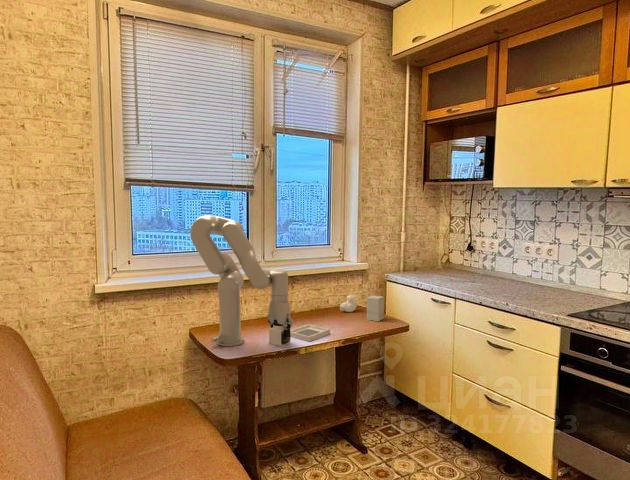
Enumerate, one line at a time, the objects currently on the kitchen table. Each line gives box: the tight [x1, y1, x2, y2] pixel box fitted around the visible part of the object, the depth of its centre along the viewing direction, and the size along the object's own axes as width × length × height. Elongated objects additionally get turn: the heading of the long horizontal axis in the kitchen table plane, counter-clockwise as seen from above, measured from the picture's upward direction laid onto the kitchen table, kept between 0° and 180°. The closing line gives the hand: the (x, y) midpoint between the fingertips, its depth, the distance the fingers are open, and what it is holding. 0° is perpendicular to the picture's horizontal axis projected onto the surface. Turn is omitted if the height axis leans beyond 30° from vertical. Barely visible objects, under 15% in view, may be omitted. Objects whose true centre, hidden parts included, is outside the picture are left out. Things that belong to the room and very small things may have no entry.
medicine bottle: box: [268, 320, 291, 347], centre depth 198 cm, size 7×7×12 cm
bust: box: [339, 294, 358, 313], centre depth 256 cm, size 12×8×11 cm
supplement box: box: [366, 294, 385, 322], centre depth 239 cm, size 7×7×13 cm
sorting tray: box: [290, 323, 331, 342], centre depth 211 cm, size 16×14×2 cm
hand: (279, 335), depth 199 cm, fingers closed on medicine bottle, 7 cm apart
